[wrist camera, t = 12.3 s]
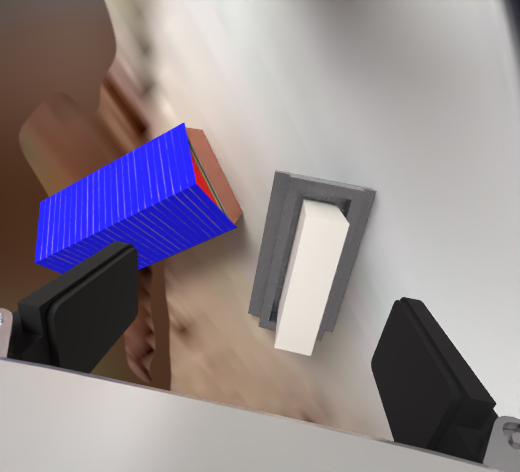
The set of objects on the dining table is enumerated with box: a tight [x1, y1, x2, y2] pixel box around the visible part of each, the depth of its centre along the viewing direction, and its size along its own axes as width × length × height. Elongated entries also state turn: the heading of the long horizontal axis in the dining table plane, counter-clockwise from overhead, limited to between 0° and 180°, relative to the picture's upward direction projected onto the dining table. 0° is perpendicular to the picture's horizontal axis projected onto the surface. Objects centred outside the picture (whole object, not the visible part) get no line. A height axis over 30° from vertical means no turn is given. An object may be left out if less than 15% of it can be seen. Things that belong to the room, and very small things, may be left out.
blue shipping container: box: [35, 123, 243, 274], centre depth 33 cm, size 12×20×12 cm, turn 115°
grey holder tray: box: [248, 170, 376, 341], centre depth 36 cm, size 20×12×4 cm, turn 170°
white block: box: [274, 198, 350, 356], centre depth 33 cm, size 15×4×9 cm, turn 170°
